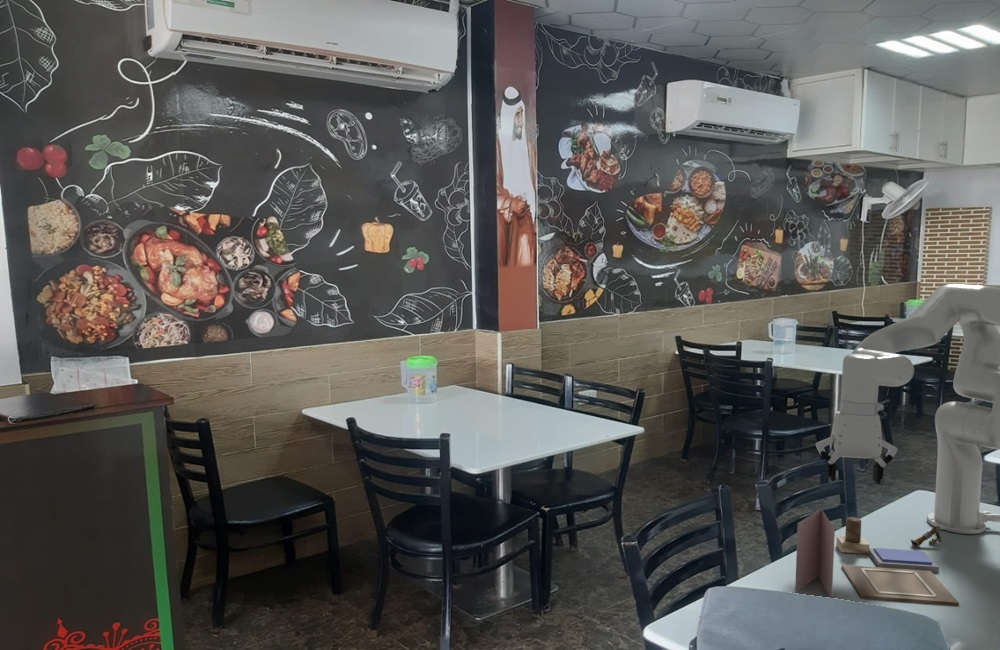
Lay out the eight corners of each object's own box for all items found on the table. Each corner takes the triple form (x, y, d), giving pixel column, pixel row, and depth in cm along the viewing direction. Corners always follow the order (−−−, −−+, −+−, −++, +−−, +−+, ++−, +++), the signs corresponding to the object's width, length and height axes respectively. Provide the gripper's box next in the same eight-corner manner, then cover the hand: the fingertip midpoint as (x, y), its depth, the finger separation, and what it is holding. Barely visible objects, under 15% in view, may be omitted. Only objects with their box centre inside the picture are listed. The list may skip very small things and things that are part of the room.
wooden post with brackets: (947, 540, 170) (942, 525, 169) (921, 557, 168) (916, 542, 167) (940, 537, 171) (935, 522, 170) (915, 554, 170) (910, 539, 169)
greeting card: (814, 574, 155) (817, 507, 154) (850, 585, 150) (853, 516, 148) (791, 591, 147) (793, 522, 146) (827, 604, 142) (830, 532, 140)
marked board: (930, 573, 155) (930, 570, 155) (959, 605, 141) (959, 601, 141) (841, 567, 158) (841, 564, 158) (861, 598, 144) (861, 594, 144)
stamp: (863, 547, 168) (864, 517, 167) (868, 555, 164) (870, 523, 164) (836, 546, 169) (837, 515, 169) (841, 553, 165) (842, 522, 165)
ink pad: (923, 556, 163) (924, 549, 163) (938, 572, 155) (938, 564, 155) (867, 552, 165) (867, 545, 165) (879, 568, 158) (879, 560, 157)
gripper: (893, 406, 165) (888, 478, 167) (814, 403, 168) (810, 473, 170) (905, 413, 158) (900, 488, 160) (822, 410, 161) (818, 483, 163)
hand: (854, 480), depth 165 cm, fingers open, 9 cm apart
